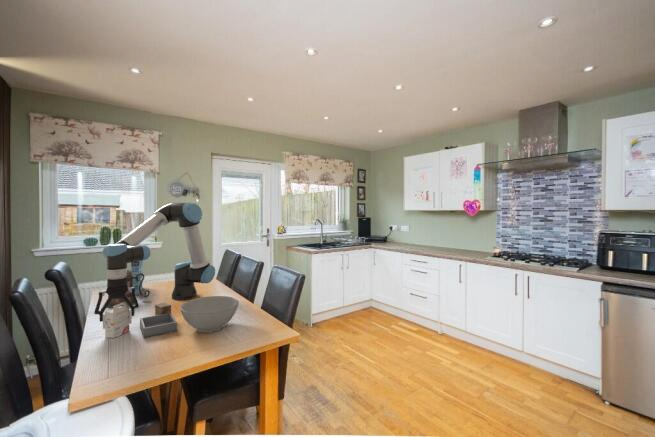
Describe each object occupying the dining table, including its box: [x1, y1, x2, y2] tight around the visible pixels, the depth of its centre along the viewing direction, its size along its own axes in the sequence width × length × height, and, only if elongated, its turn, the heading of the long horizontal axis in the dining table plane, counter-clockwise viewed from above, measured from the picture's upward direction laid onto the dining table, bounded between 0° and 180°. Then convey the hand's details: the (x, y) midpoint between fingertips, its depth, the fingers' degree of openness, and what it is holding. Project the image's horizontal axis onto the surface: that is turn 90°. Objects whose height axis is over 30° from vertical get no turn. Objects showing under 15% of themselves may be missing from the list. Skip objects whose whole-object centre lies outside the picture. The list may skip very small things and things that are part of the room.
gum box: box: [130, 260, 144, 296], centre depth 206 cm, size 20×5×23 cm, turn 26°
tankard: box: [106, 269, 151, 309], centre depth 181 cm, size 24×17×20 cm
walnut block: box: [154, 302, 172, 316], centre depth 155 cm, size 5×7×8 cm
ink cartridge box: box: [104, 302, 130, 339], centre depth 137 cm, size 9×5×15 cm, turn 169°
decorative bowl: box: [179, 295, 240, 333], centre depth 146 cm, size 27×27×12 cm
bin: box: [139, 312, 178, 339], centre depth 143 cm, size 14×16×4 cm
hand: (117, 325), depth 137 cm, fingers closed on ink cartridge box, 9 cm apart
